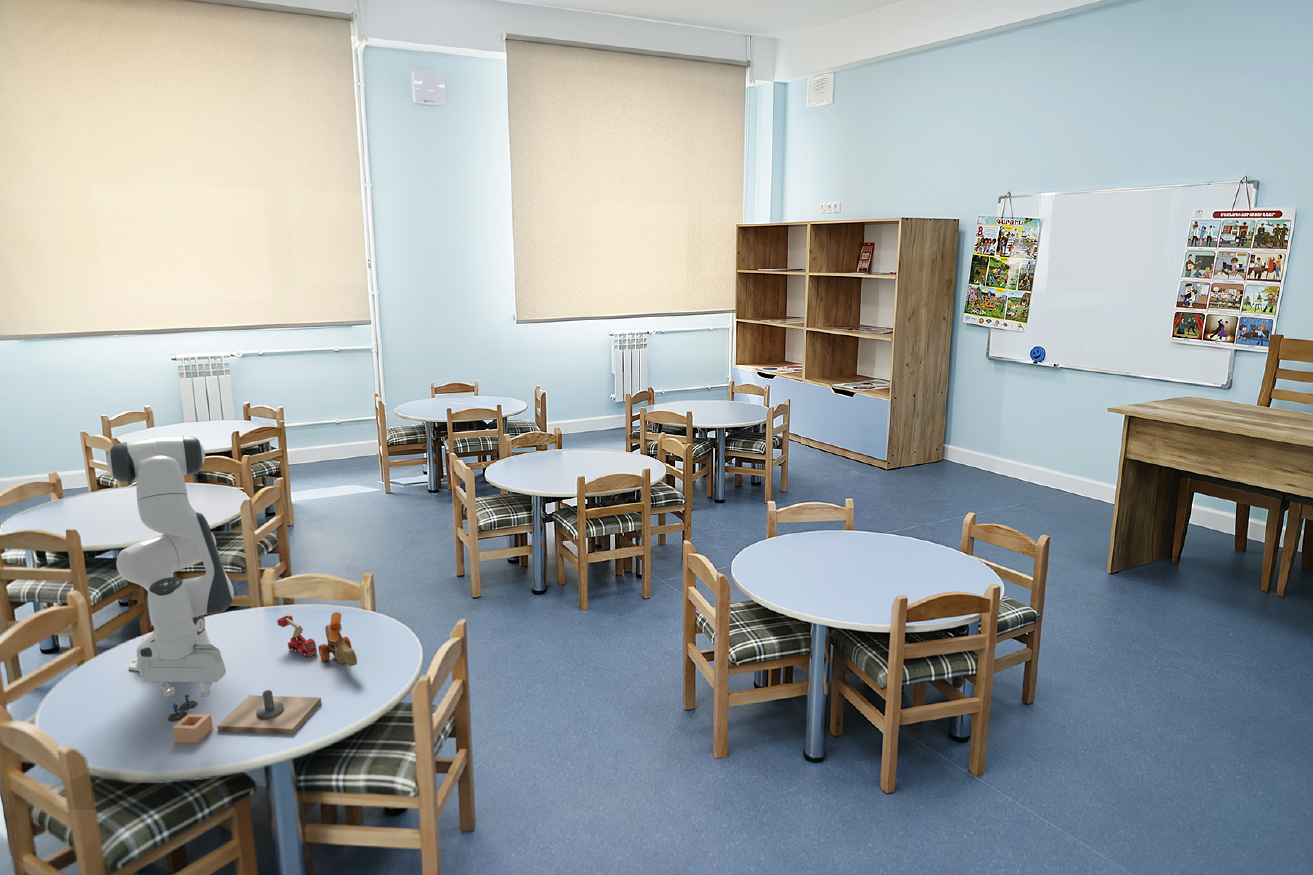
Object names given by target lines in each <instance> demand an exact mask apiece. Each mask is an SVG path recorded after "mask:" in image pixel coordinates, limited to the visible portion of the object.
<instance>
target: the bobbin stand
mask: <svg viewBox="0 0 1313 875" xmlns="http://www.w3.org/2000/svg"><path fill="white" fill-rule="evenodd" d="M321 704H322V698H321V697H315V696H314V697H311V696H310V697H307V696H284V695H283V696H280V695H279V696H277V695H273V691H272V690H270V689H265V690H264V691H263V692H262V695H251V694H250V695H248V696H247V697H246V698H245V699H244V700H243V701H242V702H241V703H240V704H239V705H237V706H236V707H235V709H233V710H232V712H230V713H229V714H228V715H227V716H226V717H225V718H224V719H223V720H221V721H220V722H219V724H217V725H216V727H217V728H216V729H217V732H228V733H231V732H232V733H233V732H234V733H251V734H252V733H255V734H256V733H257V734H280V735H285V734H286V735H295V733H296V732H297V731H298V730H299V729H300V728H301V727H302V725H303V724H304V723H305V721H307V720H308V719H309V717H310V716H311V715H312V714H313V713H314V712H315V710H317V708H318V707H319V706H320V705H321Z"/></svg>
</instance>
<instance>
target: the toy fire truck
mask: <svg viewBox="0 0 1313 875" xmlns="http://www.w3.org/2000/svg"><path fill="white" fill-rule="evenodd" d="M293 619H294V618H293V616H292V615H285V616H283V617H281V618H277V621H276V622H277V625H278V627H280V628H285V627H287V626H291V627H293V628H294V631H293V634H292V637H291V638H290V641H289V642H287V647H288V649H289V650H290V651H292V653H295V654H300V655H303V656H304V657H311V656H313V655H315V654H317V653H318V649H317V644H316V641H315V640H314V638H313V639H312V638H309V639H307V640H306V638H305V637H304V636H303V634H302V633H303V631H304V629H303V627H302V626H301V624H300V625H299V624H297V623H295V621H293Z"/></svg>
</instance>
